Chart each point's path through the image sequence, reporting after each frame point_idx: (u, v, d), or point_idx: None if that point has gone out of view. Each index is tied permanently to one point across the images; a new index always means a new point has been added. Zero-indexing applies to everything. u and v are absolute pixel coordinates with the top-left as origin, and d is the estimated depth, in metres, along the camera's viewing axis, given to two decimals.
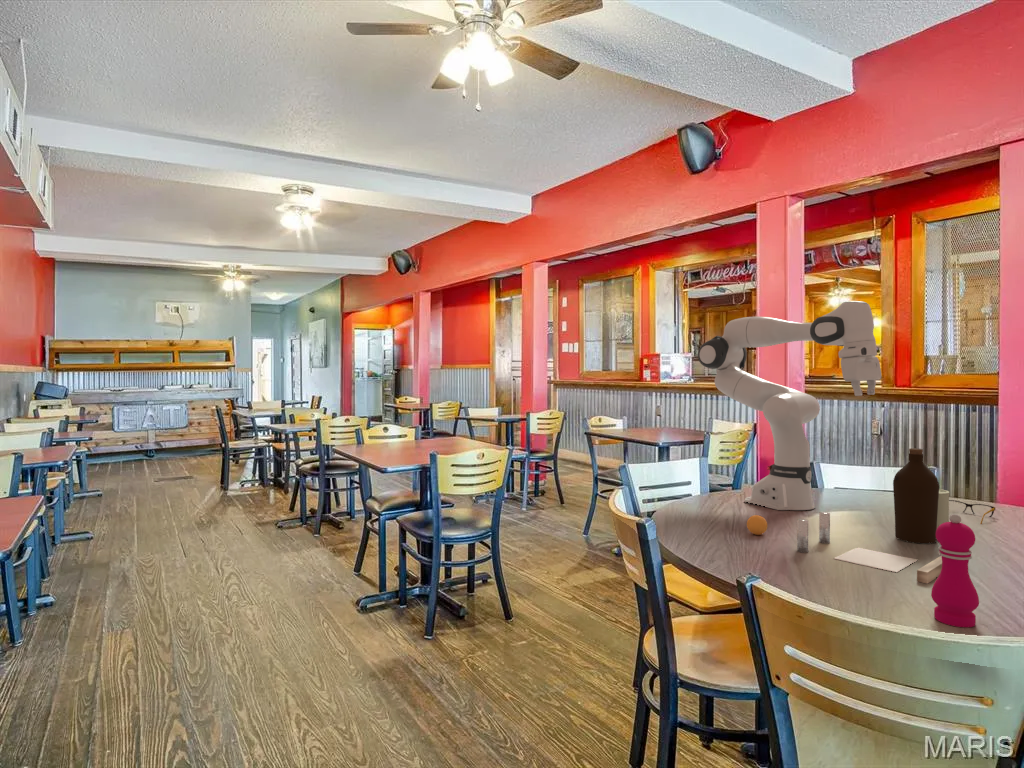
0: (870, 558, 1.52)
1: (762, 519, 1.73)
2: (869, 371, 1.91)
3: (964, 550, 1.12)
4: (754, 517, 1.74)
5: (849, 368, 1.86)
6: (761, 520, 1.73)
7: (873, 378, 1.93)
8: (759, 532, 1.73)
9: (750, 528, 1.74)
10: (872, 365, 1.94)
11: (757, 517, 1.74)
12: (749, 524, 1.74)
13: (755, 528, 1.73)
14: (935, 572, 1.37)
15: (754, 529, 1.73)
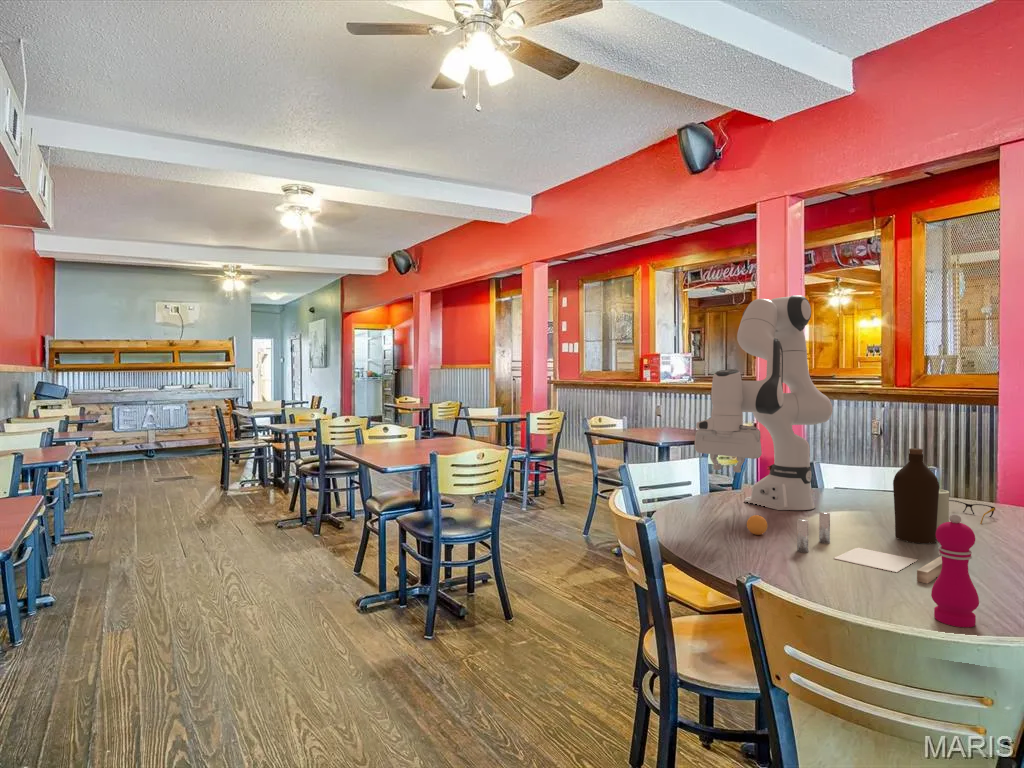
0: (870, 558, 1.52)
1: (762, 519, 1.73)
2: (724, 446, 1.81)
3: (964, 550, 1.12)
4: (754, 517, 1.74)
5: None
6: (761, 520, 1.73)
7: (733, 455, 1.78)
8: (759, 532, 1.73)
9: (750, 528, 1.74)
10: (735, 441, 1.78)
11: (757, 517, 1.74)
12: (749, 524, 1.74)
13: (755, 528, 1.73)
14: (935, 572, 1.37)
15: (754, 529, 1.73)
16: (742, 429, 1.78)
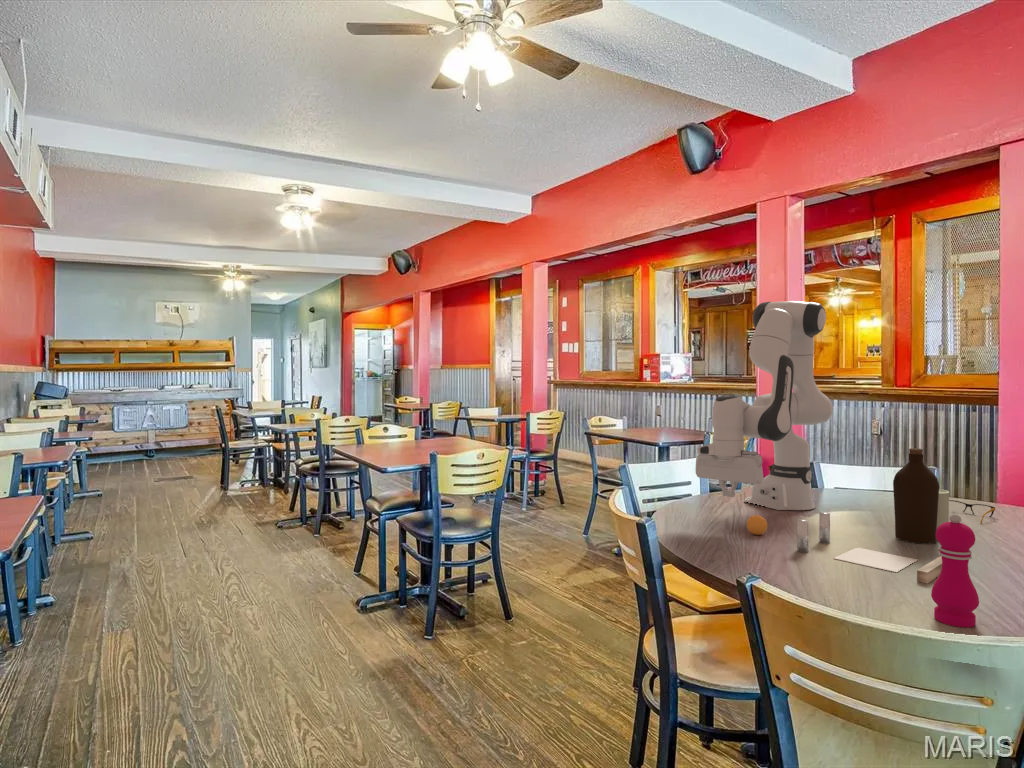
0: (870, 558, 1.52)
1: (762, 519, 1.73)
2: (725, 472, 1.80)
3: (964, 550, 1.12)
4: (754, 517, 1.74)
5: None
6: (761, 520, 1.73)
7: (735, 480, 1.78)
8: (759, 532, 1.73)
9: (750, 528, 1.74)
10: (737, 466, 1.78)
11: (757, 517, 1.74)
12: (749, 524, 1.74)
13: (755, 528, 1.73)
14: (935, 572, 1.37)
15: (754, 529, 1.73)
16: (743, 454, 1.77)
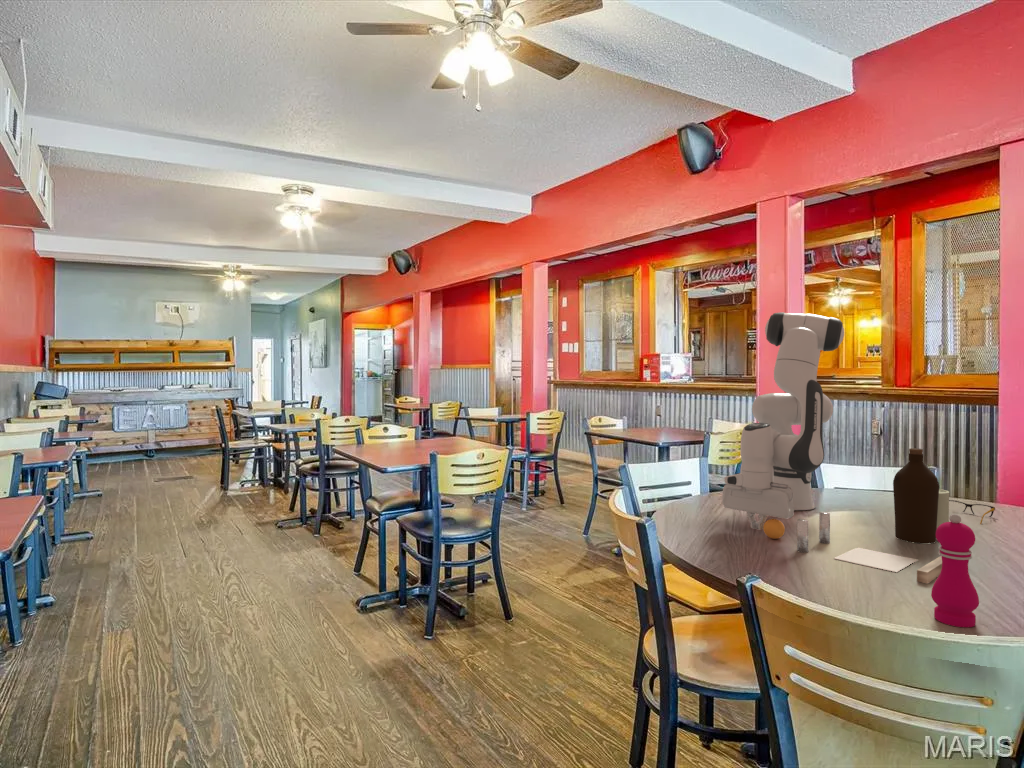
0: (870, 558, 1.52)
1: (780, 536, 1.69)
2: (754, 504, 1.73)
3: (964, 550, 1.12)
4: (779, 531, 1.68)
5: None
6: (779, 537, 1.69)
7: (764, 513, 1.71)
8: None
9: (766, 528, 1.70)
10: (766, 499, 1.71)
11: (780, 533, 1.68)
12: (769, 528, 1.69)
13: (768, 534, 1.70)
14: (935, 572, 1.37)
15: (766, 532, 1.70)
16: (773, 487, 1.70)
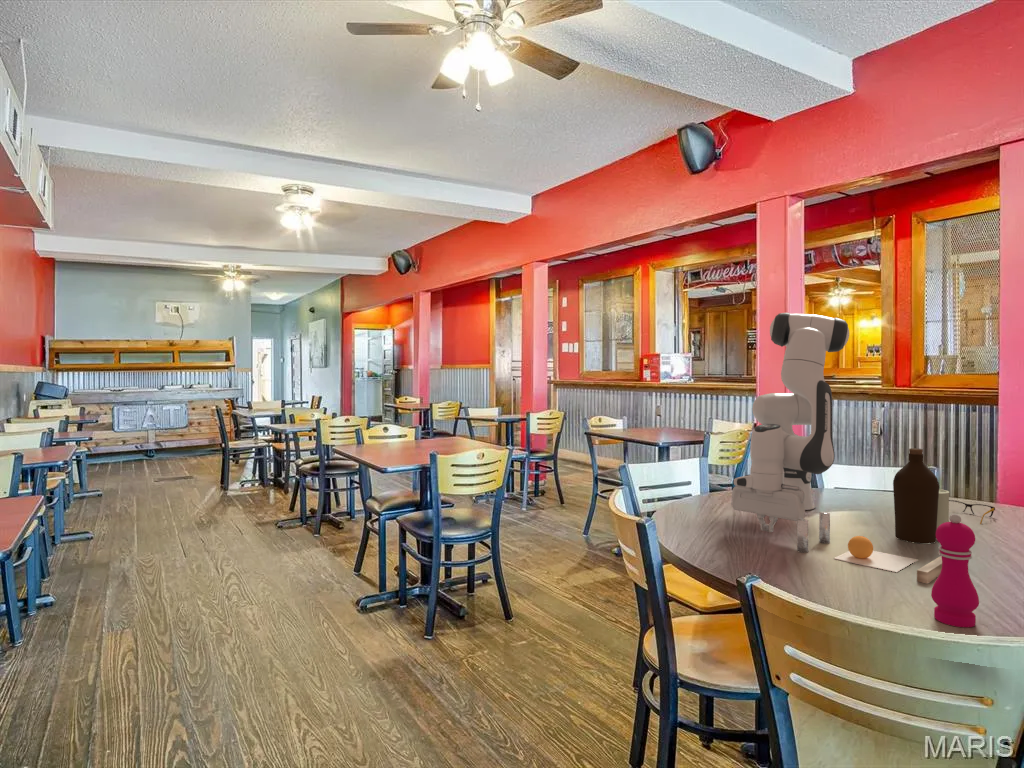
0: (870, 558, 1.52)
1: None
2: (764, 506, 1.71)
3: (964, 550, 1.12)
4: (853, 555, 1.53)
5: None
6: None
7: (775, 516, 1.69)
8: (853, 538, 1.52)
9: (857, 547, 1.50)
10: (777, 501, 1.69)
11: None
12: (857, 551, 1.51)
13: (852, 544, 1.52)
14: (935, 572, 1.37)
15: (853, 544, 1.51)
16: (784, 488, 1.68)
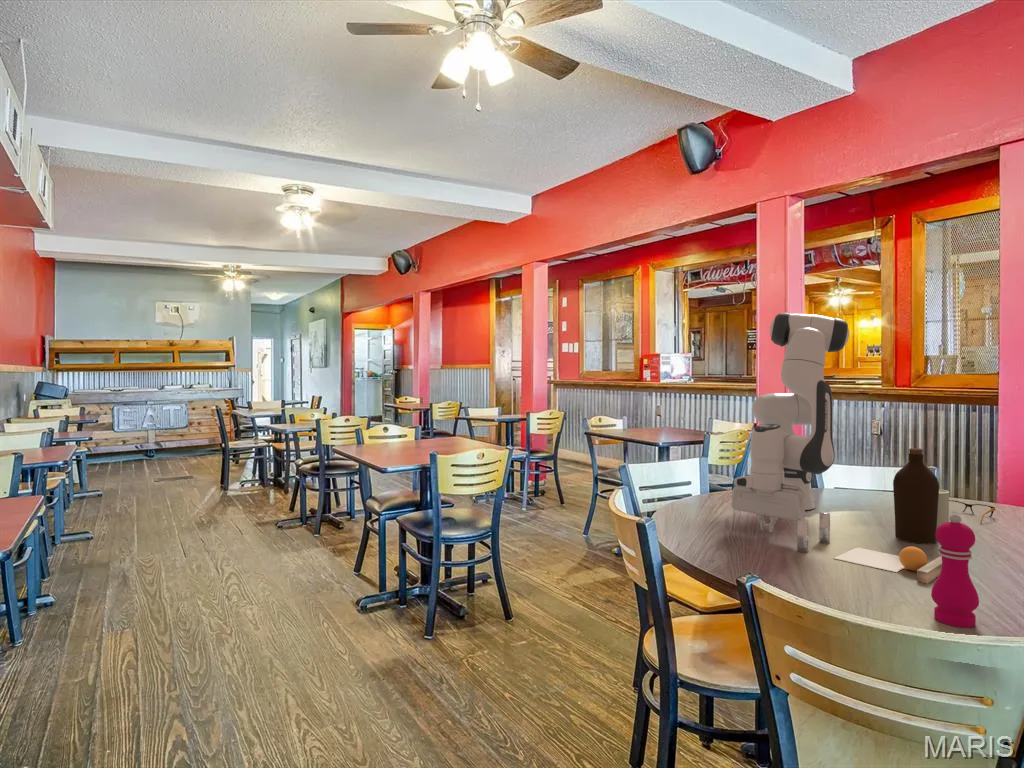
0: (870, 558, 1.52)
1: None
2: (764, 506, 1.71)
3: (964, 550, 1.12)
4: (922, 564, 1.40)
5: None
6: None
7: (775, 516, 1.69)
8: (902, 564, 1.44)
9: (905, 558, 1.42)
10: (777, 501, 1.69)
11: (922, 566, 1.41)
12: (910, 558, 1.41)
13: (906, 565, 1.42)
14: (935, 572, 1.37)
15: (904, 563, 1.42)
16: (784, 488, 1.68)
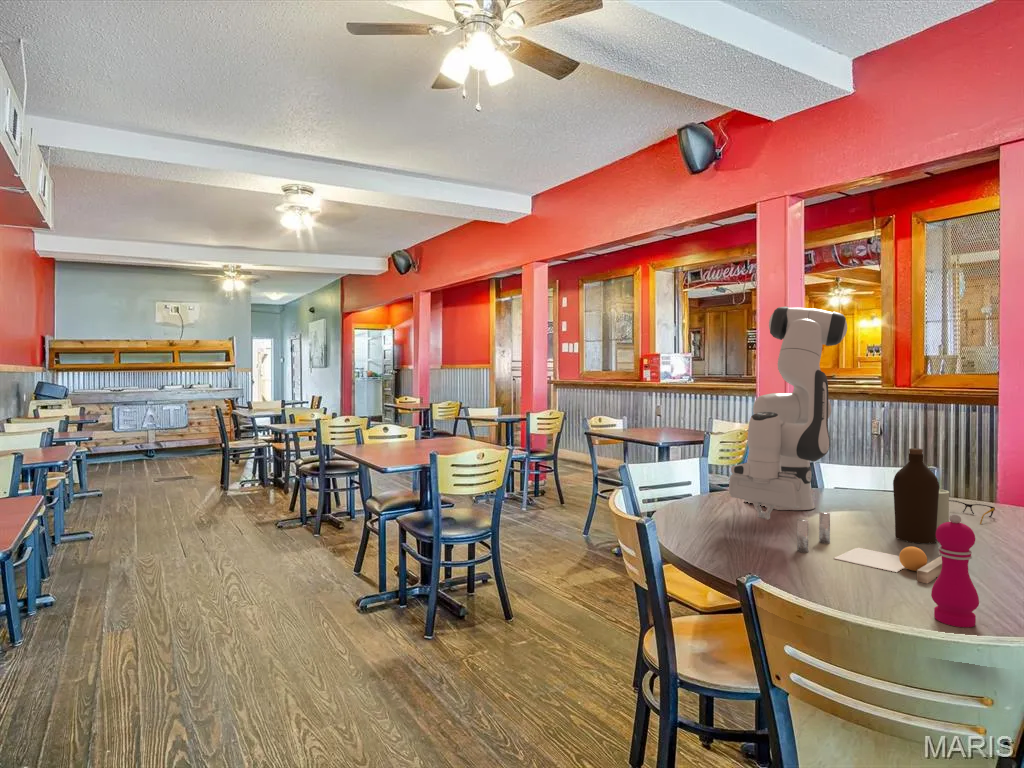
0: (870, 558, 1.52)
1: None
2: (761, 493, 1.72)
3: (964, 550, 1.12)
4: (922, 564, 1.40)
5: None
6: None
7: (771, 503, 1.70)
8: (902, 564, 1.44)
9: (905, 558, 1.42)
10: (773, 489, 1.69)
11: (922, 566, 1.41)
12: (910, 558, 1.41)
13: (906, 565, 1.42)
14: (935, 572, 1.37)
15: (904, 563, 1.42)
16: (781, 476, 1.69)
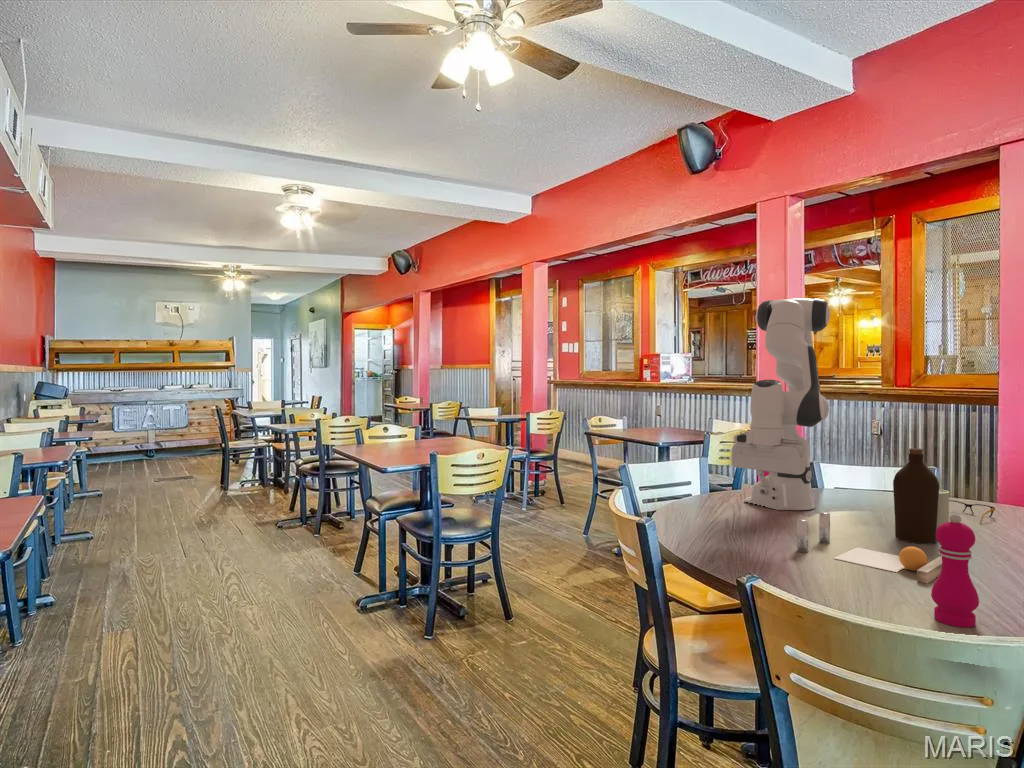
0: (870, 558, 1.52)
1: None
2: (764, 461, 1.71)
3: (964, 550, 1.12)
4: (922, 564, 1.40)
5: None
6: None
7: (775, 470, 1.69)
8: (902, 564, 1.44)
9: (905, 558, 1.42)
10: (777, 455, 1.68)
11: (922, 566, 1.41)
12: (910, 558, 1.41)
13: (906, 565, 1.42)
14: (935, 572, 1.37)
15: (904, 563, 1.42)
16: (784, 443, 1.68)
